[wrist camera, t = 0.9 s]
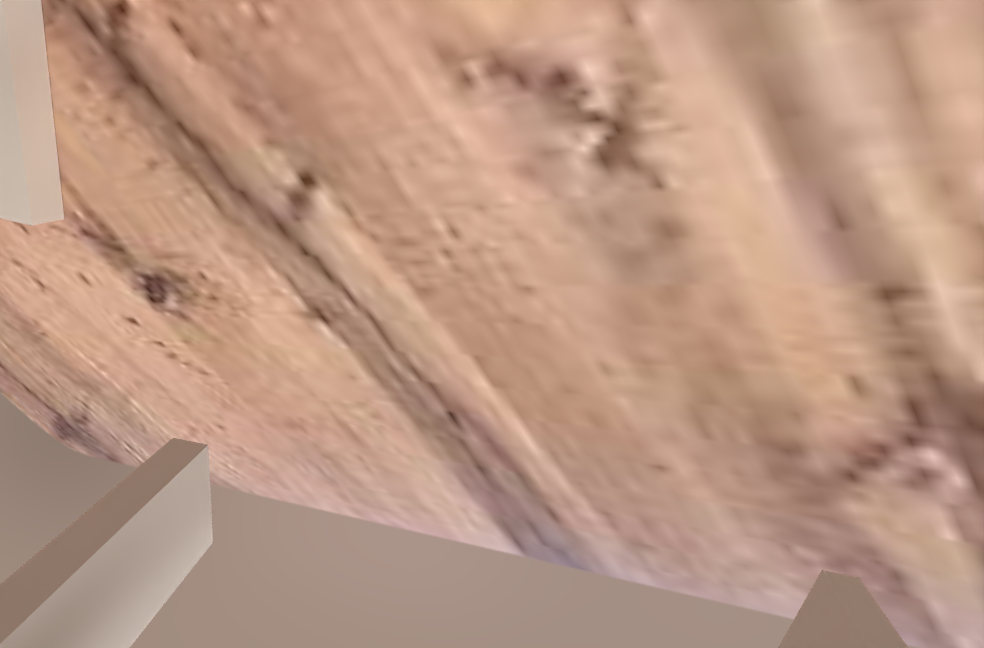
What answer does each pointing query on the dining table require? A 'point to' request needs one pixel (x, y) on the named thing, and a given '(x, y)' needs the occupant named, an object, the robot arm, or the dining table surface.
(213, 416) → the dining table surface
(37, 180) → the socket block
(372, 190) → the dining table surface
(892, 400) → the dining table surface
